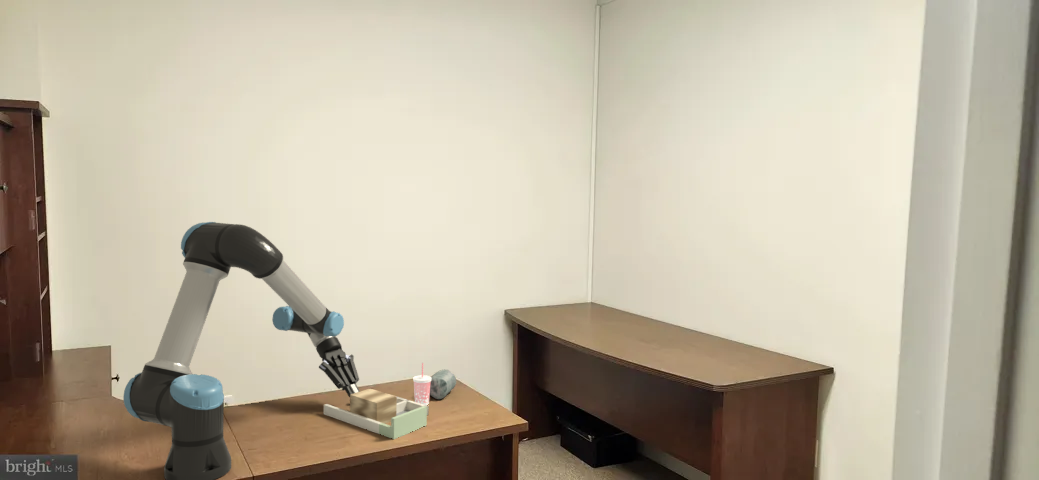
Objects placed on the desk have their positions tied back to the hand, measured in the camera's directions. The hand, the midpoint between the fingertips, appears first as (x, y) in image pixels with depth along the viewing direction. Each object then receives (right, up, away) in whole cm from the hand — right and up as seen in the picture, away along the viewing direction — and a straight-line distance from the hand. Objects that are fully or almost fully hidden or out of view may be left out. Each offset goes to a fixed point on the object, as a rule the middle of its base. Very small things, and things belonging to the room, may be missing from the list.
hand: (359, 403), depth 212 cm
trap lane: (+8, -3, -3) cm, 9 cm away
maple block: (+5, -4, -5) cm, 8 cm away
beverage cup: (+18, -3, +10) cm, 21 cm away
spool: (+23, -2, +20) cm, 31 cm away
